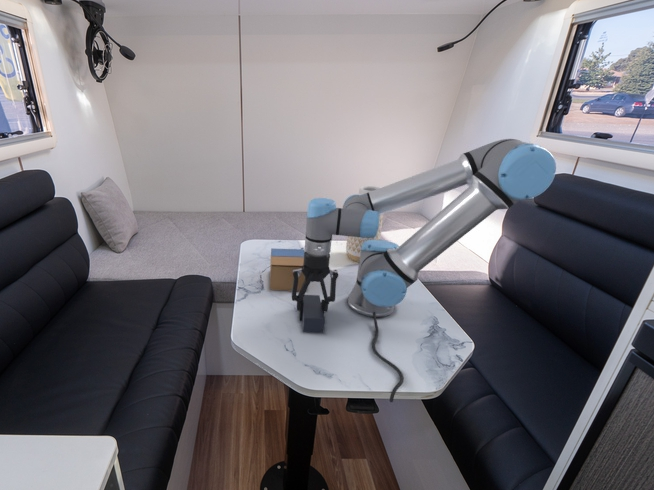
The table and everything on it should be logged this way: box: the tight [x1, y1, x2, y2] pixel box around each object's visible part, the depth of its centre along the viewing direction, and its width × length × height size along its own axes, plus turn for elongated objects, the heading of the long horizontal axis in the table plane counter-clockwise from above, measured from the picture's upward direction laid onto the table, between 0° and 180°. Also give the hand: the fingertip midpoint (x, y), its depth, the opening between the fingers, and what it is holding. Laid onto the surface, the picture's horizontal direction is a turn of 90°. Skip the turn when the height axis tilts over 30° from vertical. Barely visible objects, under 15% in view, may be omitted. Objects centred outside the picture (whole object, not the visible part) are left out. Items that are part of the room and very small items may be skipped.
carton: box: [269, 255, 305, 292], centre depth 140 cm, size 15×13×10 cm
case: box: [301, 294, 325, 334], centre depth 118 cm, size 14×6×5 cm, turn 178°
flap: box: [270, 247, 305, 257], centre depth 141 cm, size 7×13×1 cm, turn 88°
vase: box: [345, 185, 384, 263], centre depth 156 cm, size 14×14×31 cm
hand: (311, 318), depth 118 cm, fingers closed on case, 6 cm apart
